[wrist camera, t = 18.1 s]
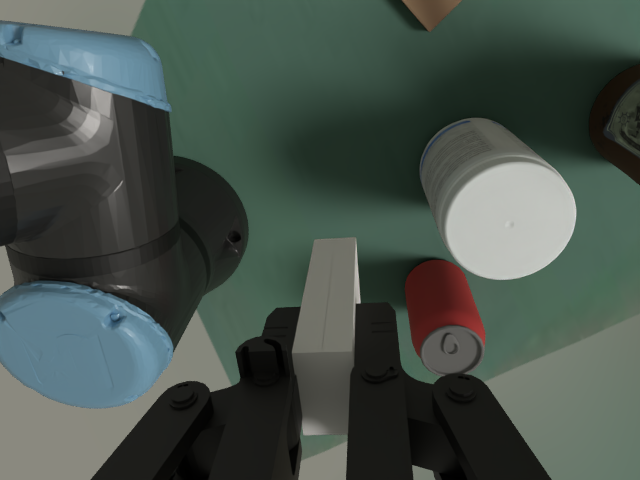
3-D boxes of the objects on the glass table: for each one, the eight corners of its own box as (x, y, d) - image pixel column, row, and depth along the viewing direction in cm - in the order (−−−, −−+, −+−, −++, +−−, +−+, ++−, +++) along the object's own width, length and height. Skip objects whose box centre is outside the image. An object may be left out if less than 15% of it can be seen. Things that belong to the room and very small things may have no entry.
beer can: (462, 252, 54) (487, 316, 43) (468, 304, 56) (493, 378, 46) (399, 262, 55) (408, 327, 44) (409, 313, 57) (419, 386, 47)
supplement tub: (417, 211, 52) (436, 284, 39) (419, 117, 48) (440, 163, 35) (516, 208, 51) (569, 282, 38) (526, 112, 47) (589, 157, 34)
